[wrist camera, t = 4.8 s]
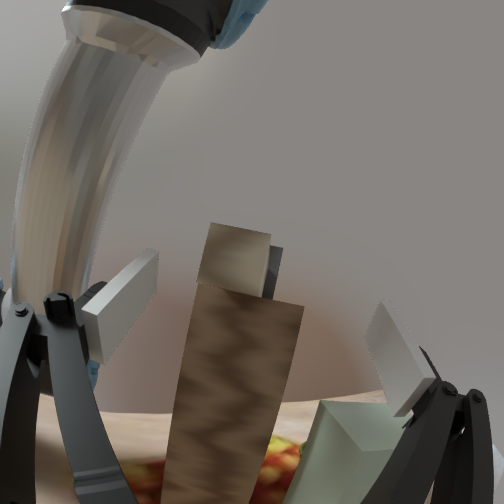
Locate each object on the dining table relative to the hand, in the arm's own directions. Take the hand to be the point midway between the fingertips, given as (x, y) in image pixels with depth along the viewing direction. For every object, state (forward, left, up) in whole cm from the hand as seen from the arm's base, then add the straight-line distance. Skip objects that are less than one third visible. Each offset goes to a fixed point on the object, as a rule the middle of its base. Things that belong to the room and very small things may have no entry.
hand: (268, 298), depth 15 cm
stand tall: (-1, +17, -30) cm, 34 cm away
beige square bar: (-1, +11, 0) cm, 11 cm away
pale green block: (+14, +7, -30) cm, 34 cm away
